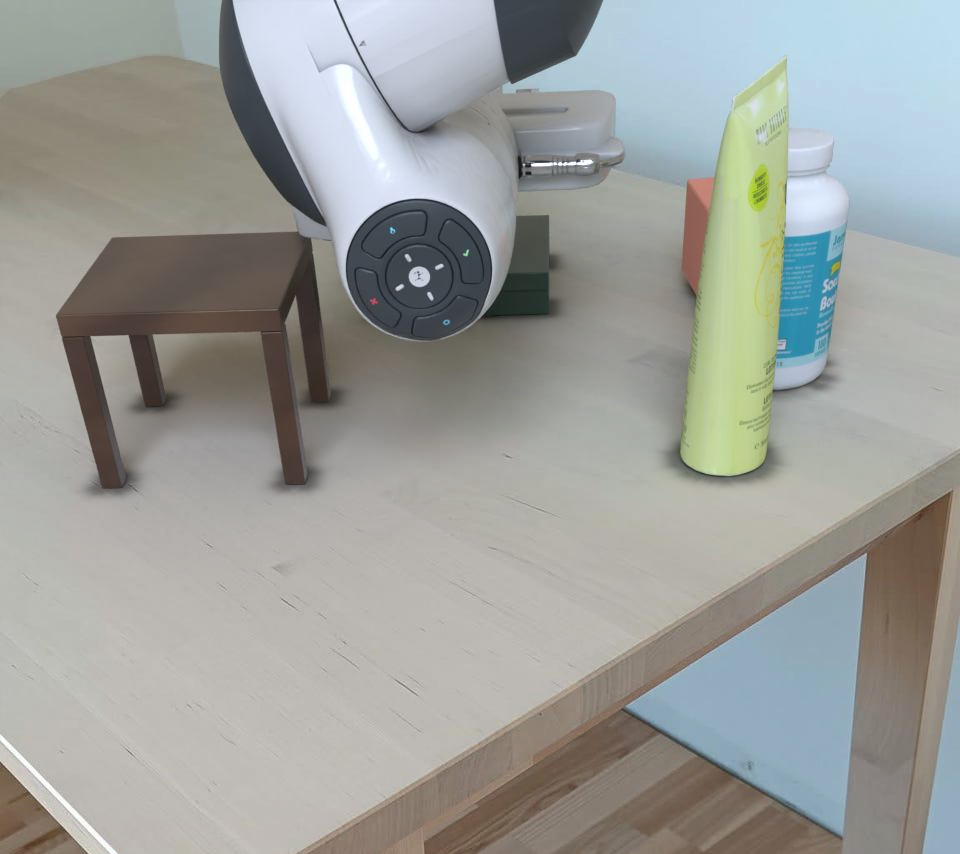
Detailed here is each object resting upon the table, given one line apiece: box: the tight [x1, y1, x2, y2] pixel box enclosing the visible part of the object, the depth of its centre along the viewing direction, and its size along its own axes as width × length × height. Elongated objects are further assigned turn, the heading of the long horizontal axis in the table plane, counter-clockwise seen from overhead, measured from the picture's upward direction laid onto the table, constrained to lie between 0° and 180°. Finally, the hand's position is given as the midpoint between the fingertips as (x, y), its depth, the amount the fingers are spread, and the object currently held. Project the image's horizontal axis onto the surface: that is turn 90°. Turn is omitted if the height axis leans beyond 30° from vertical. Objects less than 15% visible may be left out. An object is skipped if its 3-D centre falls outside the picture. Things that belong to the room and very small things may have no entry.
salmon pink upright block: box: [681, 176, 715, 297], centre depth 88 cm, size 8×12×8 cm, turn 5°
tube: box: [679, 54, 790, 477], centre depth 67 cm, size 6×5×20 cm
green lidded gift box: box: [482, 214, 550, 316], centre depth 93 cm, size 12×12×3 cm
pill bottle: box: [773, 127, 850, 391], centre depth 77 cm, size 8×7×14 cm
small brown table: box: [55, 231, 332, 489], centre depth 75 cm, size 12×12×10 cm
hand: (453, 106), depth 81 cm, fingers open, 8 cm apart
